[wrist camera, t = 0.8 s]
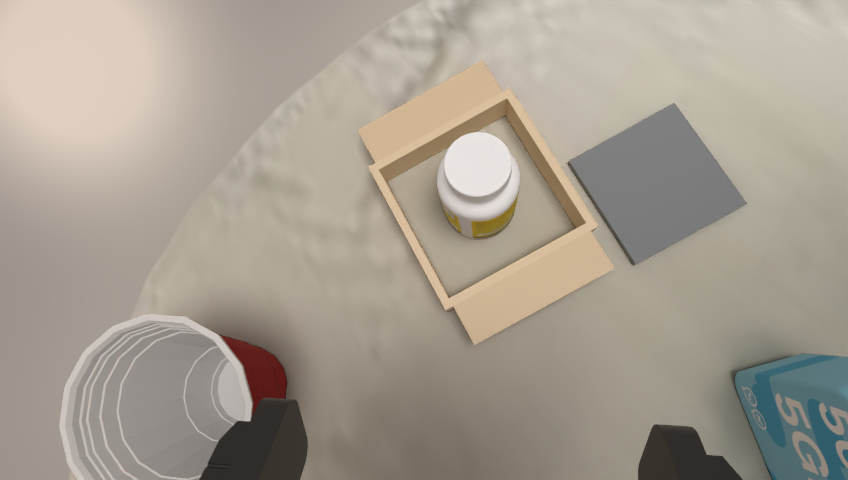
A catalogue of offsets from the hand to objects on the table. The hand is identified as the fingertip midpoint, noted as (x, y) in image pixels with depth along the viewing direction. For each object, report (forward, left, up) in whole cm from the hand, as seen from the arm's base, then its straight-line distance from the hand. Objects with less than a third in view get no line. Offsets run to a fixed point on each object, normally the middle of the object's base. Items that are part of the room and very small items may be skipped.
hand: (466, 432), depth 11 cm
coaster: (-18, -5, -25) cm, 31 cm away
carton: (-6, -10, -25) cm, 28 cm away
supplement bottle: (-6, -10, -26) cm, 28 cm away
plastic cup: (+16, -6, -26) cm, 31 cm away
